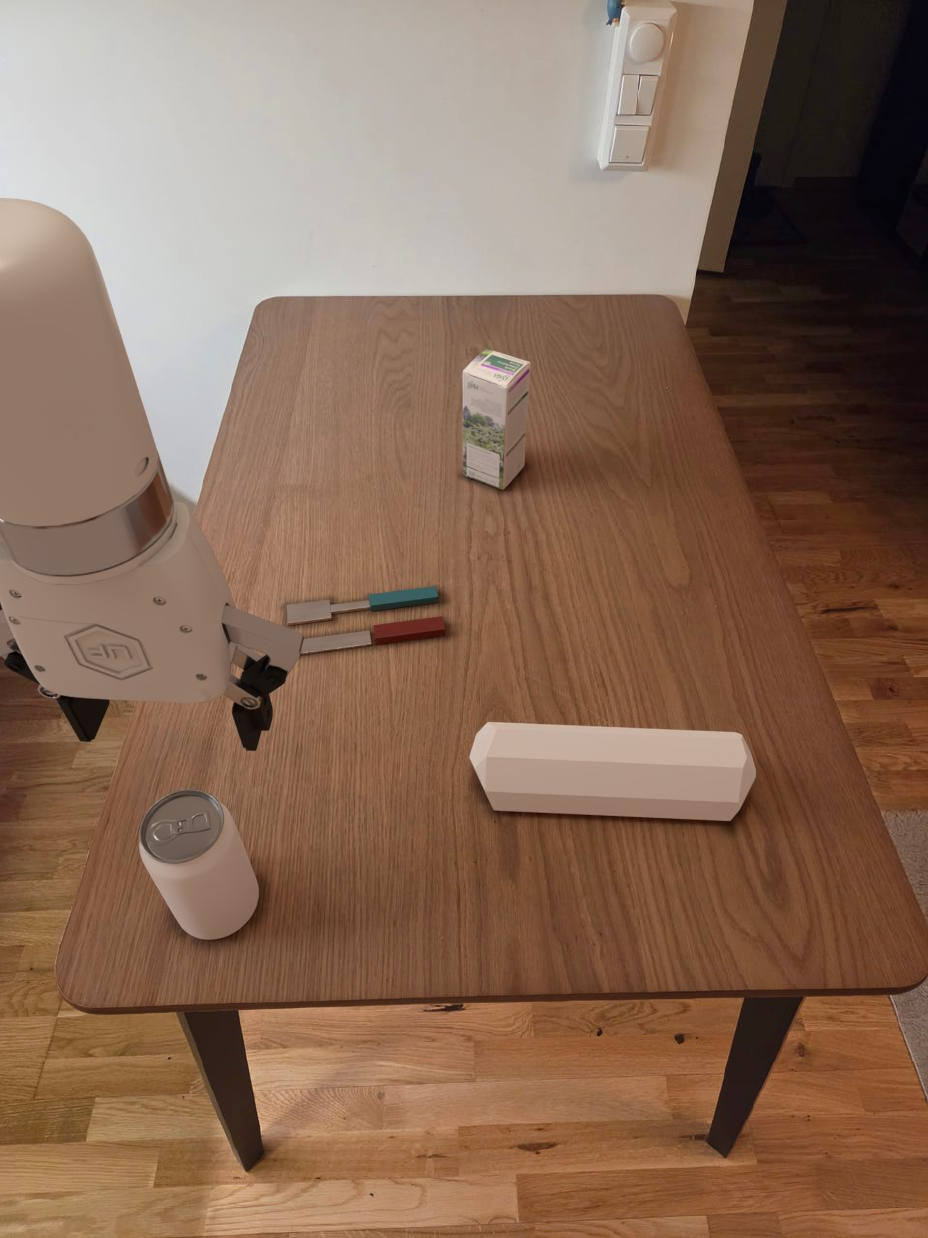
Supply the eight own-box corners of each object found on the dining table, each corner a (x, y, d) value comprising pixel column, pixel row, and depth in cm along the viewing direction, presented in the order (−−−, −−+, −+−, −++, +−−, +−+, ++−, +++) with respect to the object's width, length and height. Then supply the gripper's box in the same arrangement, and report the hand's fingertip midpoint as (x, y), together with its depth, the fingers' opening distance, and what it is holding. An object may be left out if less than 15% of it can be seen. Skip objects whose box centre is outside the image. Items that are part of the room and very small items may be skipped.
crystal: (747, 708, 75) (472, 697, 76) (772, 744, 68) (469, 731, 69) (736, 784, 77) (469, 772, 78) (760, 827, 70) (466, 813, 71)
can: (172, 875, 68) (129, 797, 59) (254, 853, 70) (224, 773, 61) (179, 953, 64) (134, 881, 55) (266, 928, 66) (235, 853, 57)
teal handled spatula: (288, 625, 86) (286, 619, 86) (287, 607, 88) (285, 601, 88) (439, 606, 88) (439, 600, 88) (435, 588, 90) (435, 582, 89)
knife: (279, 657, 84) (278, 651, 83) (278, 644, 85) (277, 637, 84) (445, 635, 86) (445, 629, 85) (442, 622, 87) (442, 615, 86)
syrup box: (525, 466, 104) (533, 358, 93) (502, 493, 101) (507, 384, 90) (485, 451, 106) (487, 344, 95) (460, 477, 103) (460, 369, 92)
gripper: (-150, 552, 36) (7, 772, 49) (255, 571, 36) (308, 789, 48) (-65, 445, 41) (57, 670, 54) (291, 460, 41) (330, 684, 53)
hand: (176, 726), depth 51 cm, fingers open, 9 cm apart
